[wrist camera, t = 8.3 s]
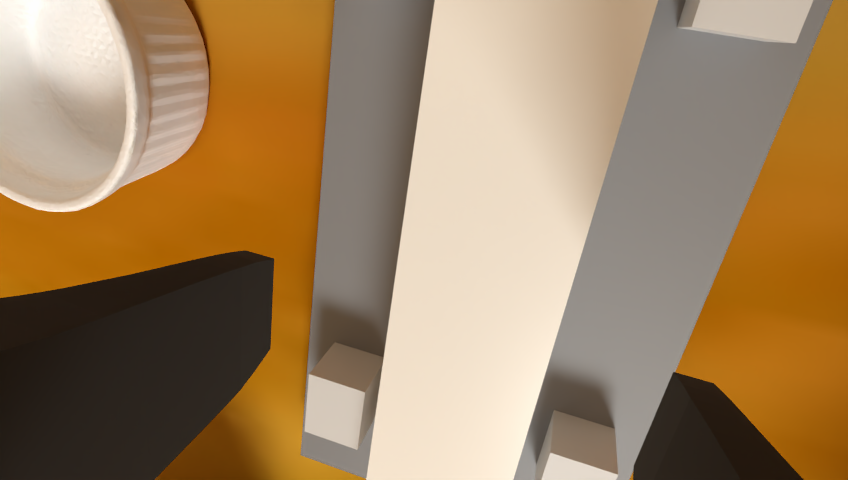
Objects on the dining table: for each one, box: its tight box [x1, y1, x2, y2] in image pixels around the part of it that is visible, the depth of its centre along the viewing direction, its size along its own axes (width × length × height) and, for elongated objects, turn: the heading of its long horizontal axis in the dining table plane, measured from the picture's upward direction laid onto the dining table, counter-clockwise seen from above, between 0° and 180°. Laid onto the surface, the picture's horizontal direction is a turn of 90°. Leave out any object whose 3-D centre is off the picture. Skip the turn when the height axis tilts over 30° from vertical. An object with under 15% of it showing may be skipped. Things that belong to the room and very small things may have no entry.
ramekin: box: [0, 0, 209, 212], centre depth 18 cm, size 9×9×4 cm
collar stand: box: [301, 0, 833, 480], centre depth 16 cm, size 24×12×4 cm, turn 171°
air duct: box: [366, 0, 658, 480], centre depth 14 cm, size 21×4×4 cm, turn 171°
